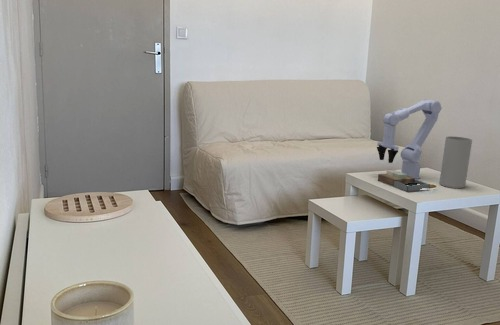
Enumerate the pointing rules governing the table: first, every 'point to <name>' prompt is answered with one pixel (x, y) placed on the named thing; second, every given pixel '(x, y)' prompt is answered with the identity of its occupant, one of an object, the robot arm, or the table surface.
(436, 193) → the table surface
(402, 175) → the tile sage
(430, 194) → the table surface
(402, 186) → the box
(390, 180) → the bench plate
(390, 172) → the tile cream
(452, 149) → the cylinder vase
